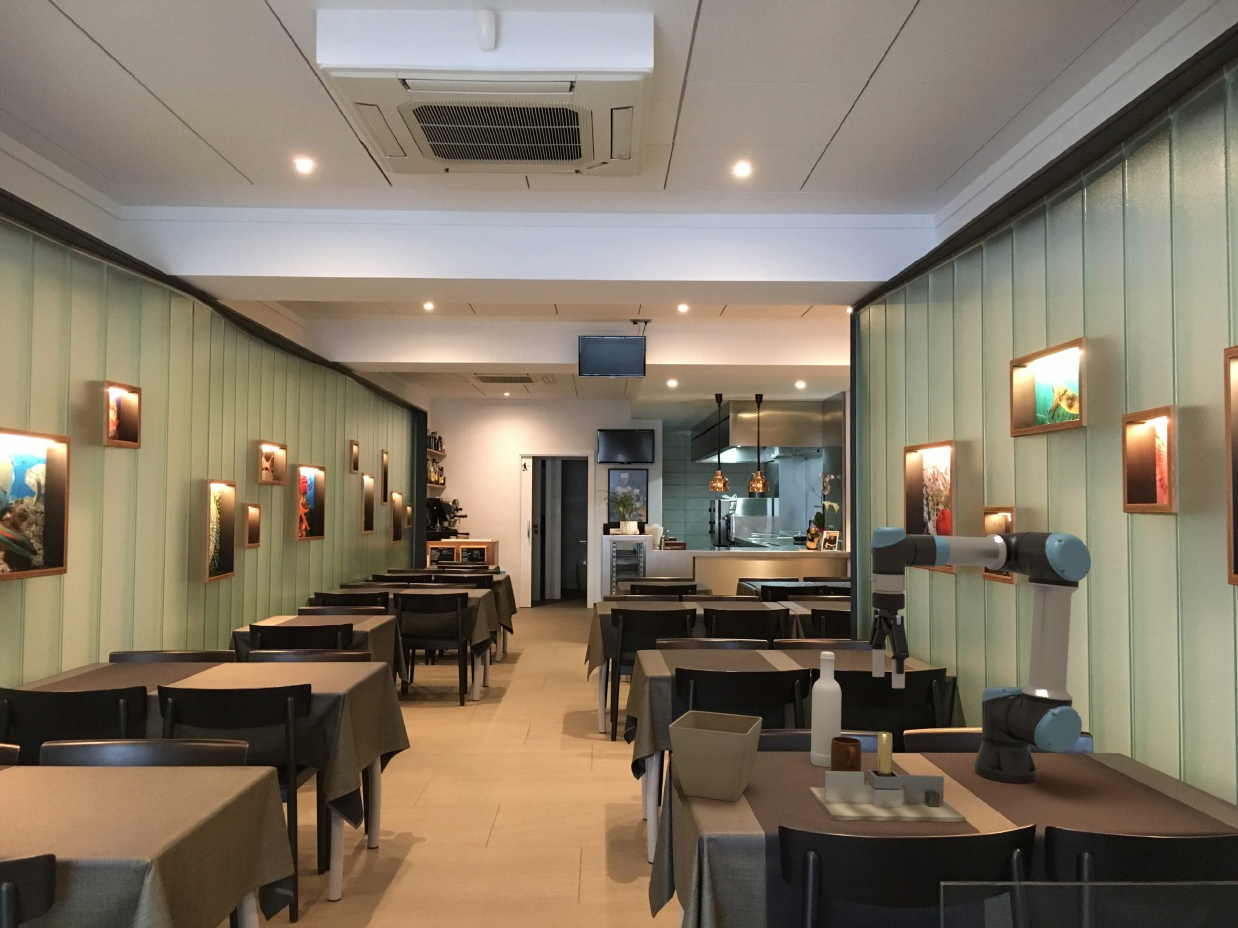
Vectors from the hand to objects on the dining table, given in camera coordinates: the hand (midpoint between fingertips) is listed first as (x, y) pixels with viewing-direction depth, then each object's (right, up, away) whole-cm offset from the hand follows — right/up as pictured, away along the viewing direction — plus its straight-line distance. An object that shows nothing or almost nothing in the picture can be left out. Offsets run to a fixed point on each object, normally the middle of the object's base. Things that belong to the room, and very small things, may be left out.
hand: (888, 682), depth 215 cm
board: (-2, -28, -3) cm, 28 cm away
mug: (-5, -30, +18) cm, 35 cm away
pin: (-2, -27, -4) cm, 28 cm away
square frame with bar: (+3, -27, -4) cm, 28 cm away
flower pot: (-41, -28, +5) cm, 49 cm away
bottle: (-8, -30, +32) cm, 44 cm away
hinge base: (-3, -27, -4) cm, 28 cm away
